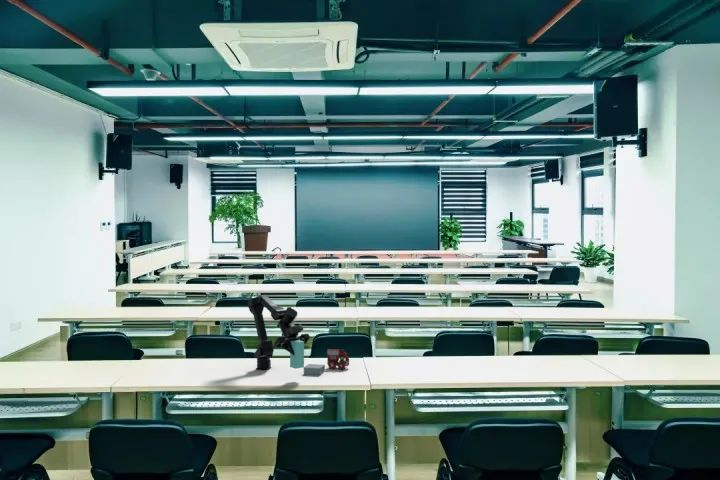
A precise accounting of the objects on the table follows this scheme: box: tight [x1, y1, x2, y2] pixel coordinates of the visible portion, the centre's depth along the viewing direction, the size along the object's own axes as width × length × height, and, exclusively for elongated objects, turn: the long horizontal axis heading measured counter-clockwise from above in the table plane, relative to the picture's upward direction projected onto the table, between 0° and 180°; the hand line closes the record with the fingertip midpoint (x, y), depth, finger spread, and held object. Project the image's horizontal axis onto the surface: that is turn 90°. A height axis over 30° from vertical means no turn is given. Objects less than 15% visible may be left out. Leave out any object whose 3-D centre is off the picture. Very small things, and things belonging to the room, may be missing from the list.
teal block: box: [289, 340, 305, 369], centre depth 315 cm, size 5×5×13 cm
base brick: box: [303, 363, 326, 376], centre depth 331 cm, size 9×9×4 cm
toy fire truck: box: [326, 348, 350, 371], centre depth 343 cm, size 7×12×10 cm, turn 82°
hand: (298, 354), depth 314 cm, fingers closed on teal block, 5 cm apart
